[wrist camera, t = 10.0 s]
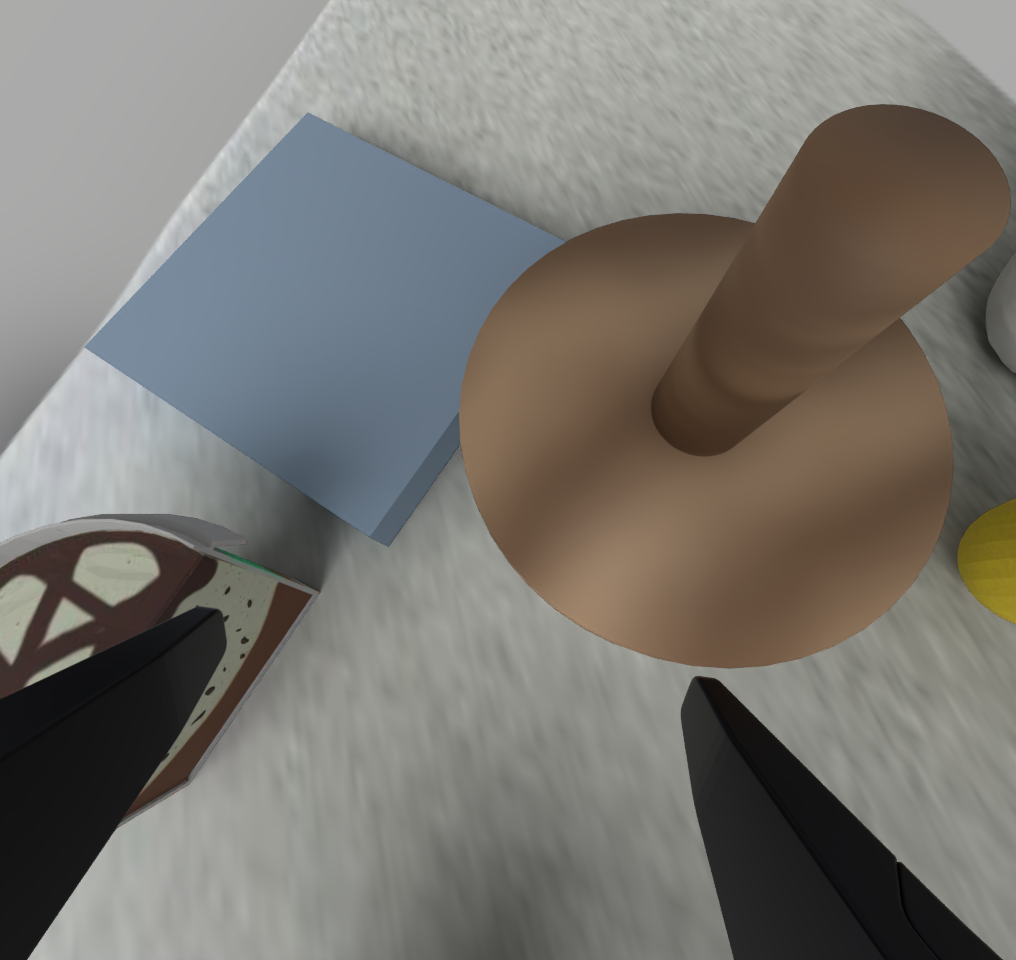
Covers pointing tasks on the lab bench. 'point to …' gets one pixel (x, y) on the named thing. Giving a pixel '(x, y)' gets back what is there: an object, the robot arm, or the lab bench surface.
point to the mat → (328, 320)
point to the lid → (736, 402)
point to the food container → (143, 613)
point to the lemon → (991, 560)
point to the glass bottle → (1003, 315)
